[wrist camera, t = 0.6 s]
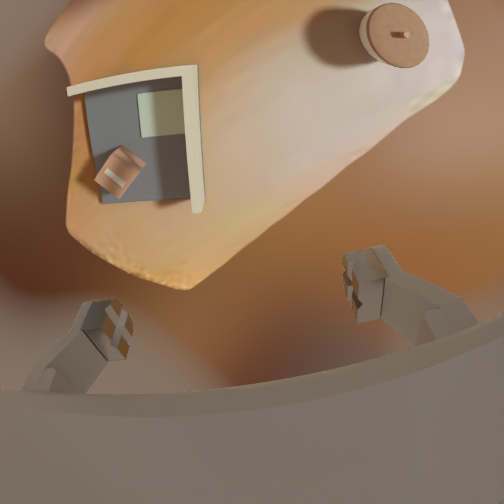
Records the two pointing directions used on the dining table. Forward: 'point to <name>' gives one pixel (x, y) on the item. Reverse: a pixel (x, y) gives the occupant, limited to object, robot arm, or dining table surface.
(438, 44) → the dining table surface
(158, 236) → the dining table surface
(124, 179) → the block
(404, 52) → the lidded jar
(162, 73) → the arena
